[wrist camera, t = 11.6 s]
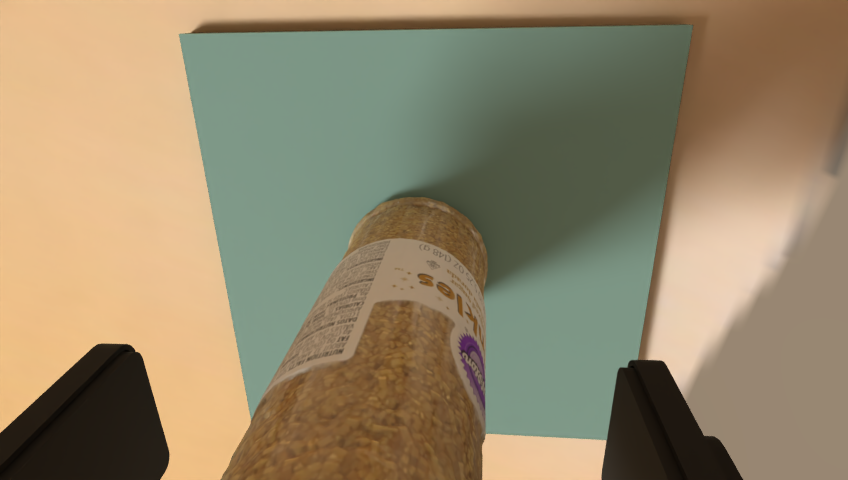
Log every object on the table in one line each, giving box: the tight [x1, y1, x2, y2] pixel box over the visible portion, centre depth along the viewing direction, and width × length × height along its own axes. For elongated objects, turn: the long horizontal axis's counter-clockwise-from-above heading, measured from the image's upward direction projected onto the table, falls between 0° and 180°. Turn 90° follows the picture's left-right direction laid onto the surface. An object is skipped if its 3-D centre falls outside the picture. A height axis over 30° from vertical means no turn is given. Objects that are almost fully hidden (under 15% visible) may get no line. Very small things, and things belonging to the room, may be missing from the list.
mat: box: [179, 24, 693, 440], centre depth 18 cm, size 14×14×1 cm
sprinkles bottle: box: [221, 197, 488, 480], centre depth 11 cm, size 5×5×14 cm
